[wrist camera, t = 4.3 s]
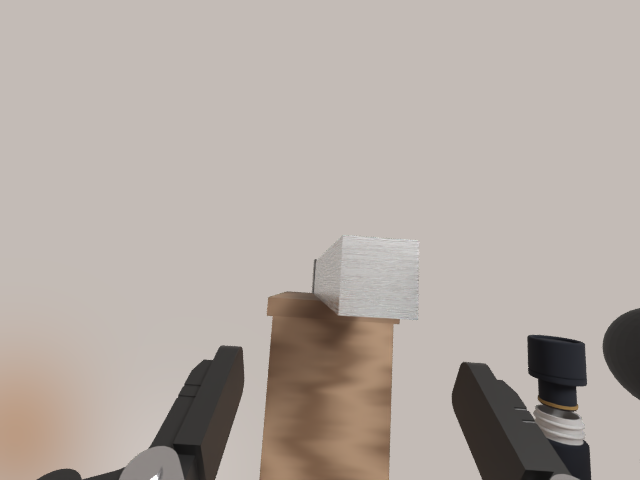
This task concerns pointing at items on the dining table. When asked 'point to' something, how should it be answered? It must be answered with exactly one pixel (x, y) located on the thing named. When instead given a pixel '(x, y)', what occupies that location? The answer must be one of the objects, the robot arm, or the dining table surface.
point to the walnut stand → (326, 393)
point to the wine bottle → (561, 398)
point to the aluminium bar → (369, 277)
